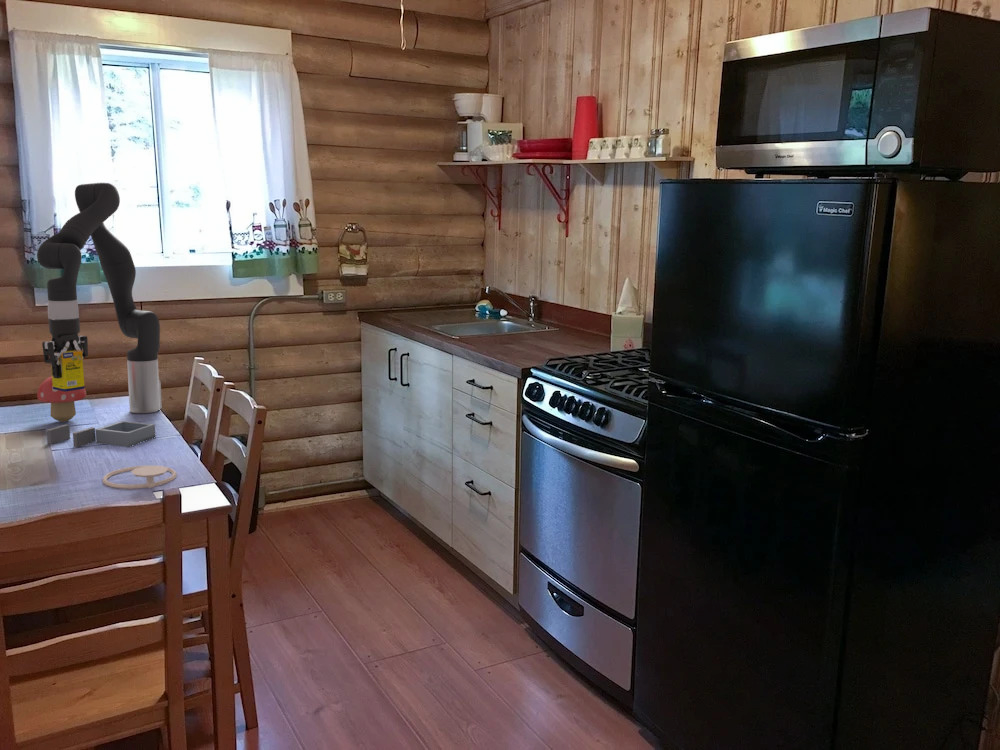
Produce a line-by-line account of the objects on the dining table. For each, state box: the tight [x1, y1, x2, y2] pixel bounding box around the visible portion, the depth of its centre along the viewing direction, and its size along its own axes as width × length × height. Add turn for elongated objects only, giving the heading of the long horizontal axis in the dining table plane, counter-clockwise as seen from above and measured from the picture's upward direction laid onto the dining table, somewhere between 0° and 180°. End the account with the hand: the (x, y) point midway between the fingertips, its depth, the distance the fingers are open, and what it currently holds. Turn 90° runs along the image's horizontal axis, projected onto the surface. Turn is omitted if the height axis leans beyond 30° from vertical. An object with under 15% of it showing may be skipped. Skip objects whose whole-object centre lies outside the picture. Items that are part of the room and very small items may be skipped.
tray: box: [95, 420, 156, 448], centre depth 236 cm, size 11×11×4 cm
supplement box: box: [50, 350, 86, 392], centre depth 229 cm, size 6×6×11 cm
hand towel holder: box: [102, 465, 178, 490], centre depth 202 cm, size 17×4×20 cm
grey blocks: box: [46, 423, 96, 448], centre depth 232 cm, size 7×10×4 cm
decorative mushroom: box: [36, 375, 87, 423], centre depth 253 cm, size 13×13×15 cm
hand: (67, 375), depth 229 cm, fingers closed on supplement box, 7 cm apart
